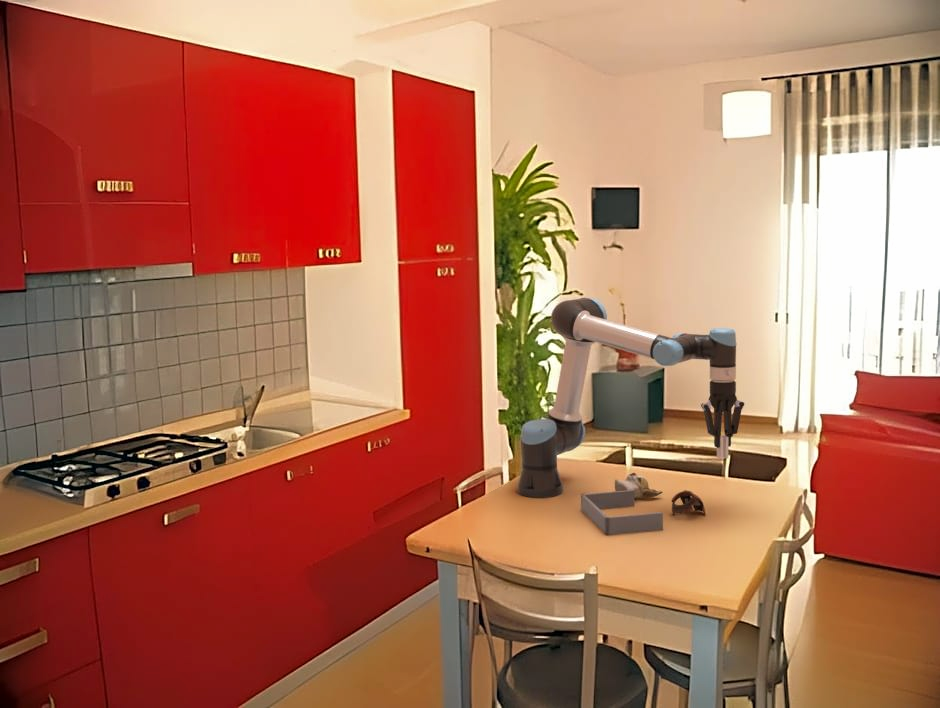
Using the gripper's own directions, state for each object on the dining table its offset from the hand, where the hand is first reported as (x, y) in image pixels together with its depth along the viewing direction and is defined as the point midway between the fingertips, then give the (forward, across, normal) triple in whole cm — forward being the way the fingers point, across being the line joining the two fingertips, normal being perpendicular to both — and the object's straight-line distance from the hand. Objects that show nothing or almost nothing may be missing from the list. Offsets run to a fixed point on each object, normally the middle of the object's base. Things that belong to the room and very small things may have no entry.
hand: (722, 457), depth 263 cm
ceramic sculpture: (+17, -21, +19) cm, 33 cm away
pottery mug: (+17, -11, 0) cm, 20 cm away
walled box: (+16, -32, 0) cm, 36 cm away
